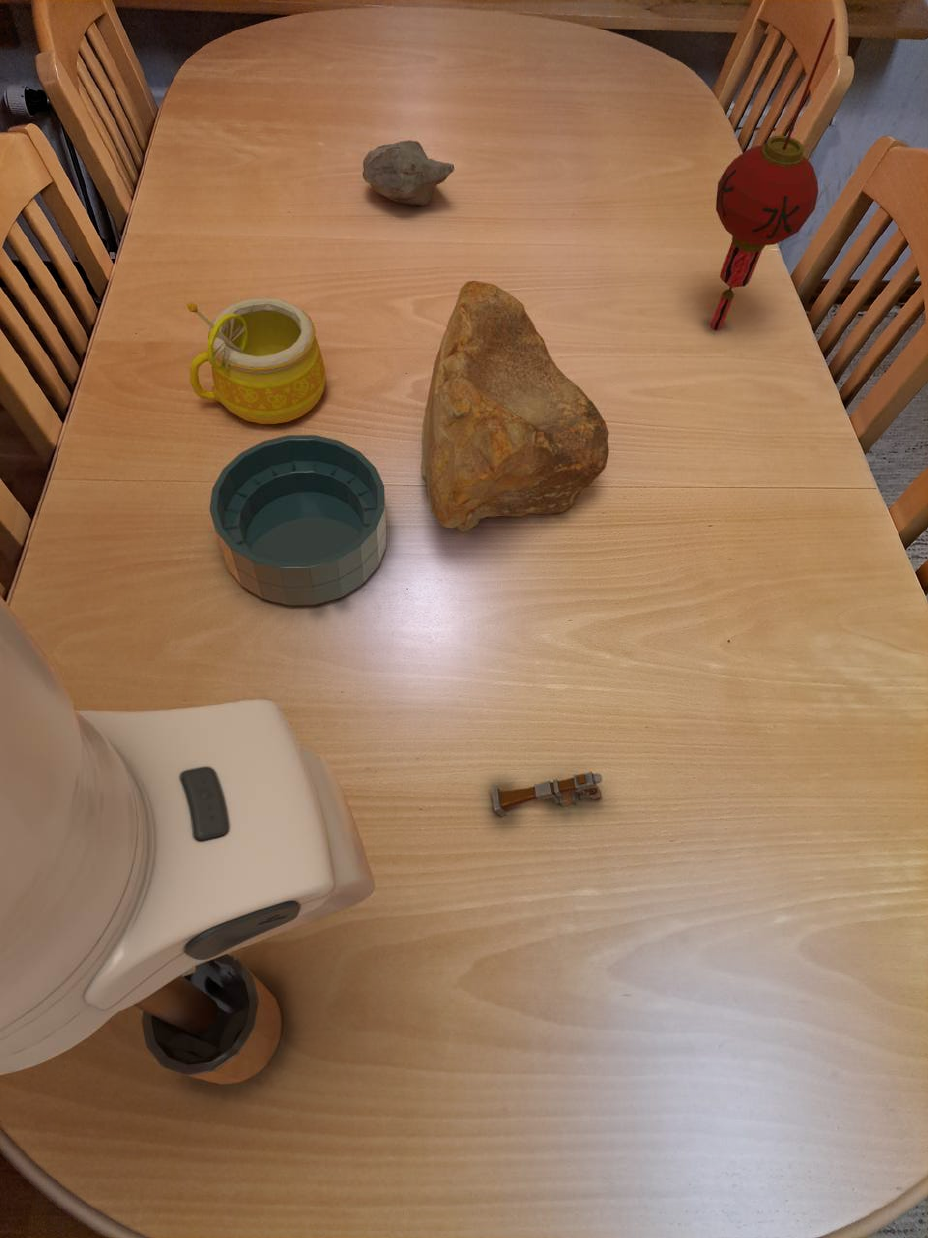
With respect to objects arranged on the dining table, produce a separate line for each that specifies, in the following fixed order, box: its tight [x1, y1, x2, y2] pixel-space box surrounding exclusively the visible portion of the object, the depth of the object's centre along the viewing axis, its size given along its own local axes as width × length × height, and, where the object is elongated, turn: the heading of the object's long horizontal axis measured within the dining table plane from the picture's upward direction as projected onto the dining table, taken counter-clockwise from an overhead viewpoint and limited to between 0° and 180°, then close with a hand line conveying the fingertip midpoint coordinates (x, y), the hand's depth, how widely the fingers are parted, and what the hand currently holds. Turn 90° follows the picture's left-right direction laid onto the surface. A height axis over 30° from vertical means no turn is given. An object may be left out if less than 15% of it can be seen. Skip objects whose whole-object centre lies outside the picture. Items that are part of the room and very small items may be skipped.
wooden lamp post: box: [491, 771, 603, 817], centre depth 61 cm, size 2×8×4 cm, turn 96°
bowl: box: [209, 434, 387, 606], centre depth 71 cm, size 14×14×6 cm
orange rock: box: [420, 280, 610, 533], centre depth 73 cm, size 23×17×15 cm
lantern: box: [710, 18, 836, 331], centre depth 79 cm, size 10×10×30 cm
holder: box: [141, 954, 283, 1085], centre depth 48 cm, size 6×6×10 cm
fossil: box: [362, 139, 455, 207], centre depth 98 cm, size 11×9×8 cm
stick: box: [132, 977, 219, 1035], centre depth 38 cm, size 2×2×18 cm
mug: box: [186, 297, 327, 425], centre depth 77 cm, size 13×11×12 cm
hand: (135, 974), depth 34 cm, fingers closed on stick, 2 cm apart
